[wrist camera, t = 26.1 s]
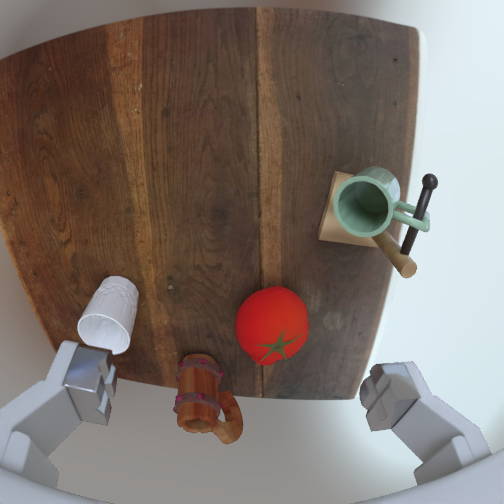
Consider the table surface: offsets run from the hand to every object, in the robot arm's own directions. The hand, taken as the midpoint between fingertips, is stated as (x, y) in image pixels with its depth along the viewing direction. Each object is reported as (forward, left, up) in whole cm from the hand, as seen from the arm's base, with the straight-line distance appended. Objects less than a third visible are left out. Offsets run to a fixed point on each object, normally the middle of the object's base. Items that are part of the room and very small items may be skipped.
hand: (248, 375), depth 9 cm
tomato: (+25, -8, -34) cm, 43 cm away
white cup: (+10, -27, -34) cm, 45 cm away
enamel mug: (+13, +14, -27) cm, 33 cm away
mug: (+33, -25, -34) cm, 54 cm away
